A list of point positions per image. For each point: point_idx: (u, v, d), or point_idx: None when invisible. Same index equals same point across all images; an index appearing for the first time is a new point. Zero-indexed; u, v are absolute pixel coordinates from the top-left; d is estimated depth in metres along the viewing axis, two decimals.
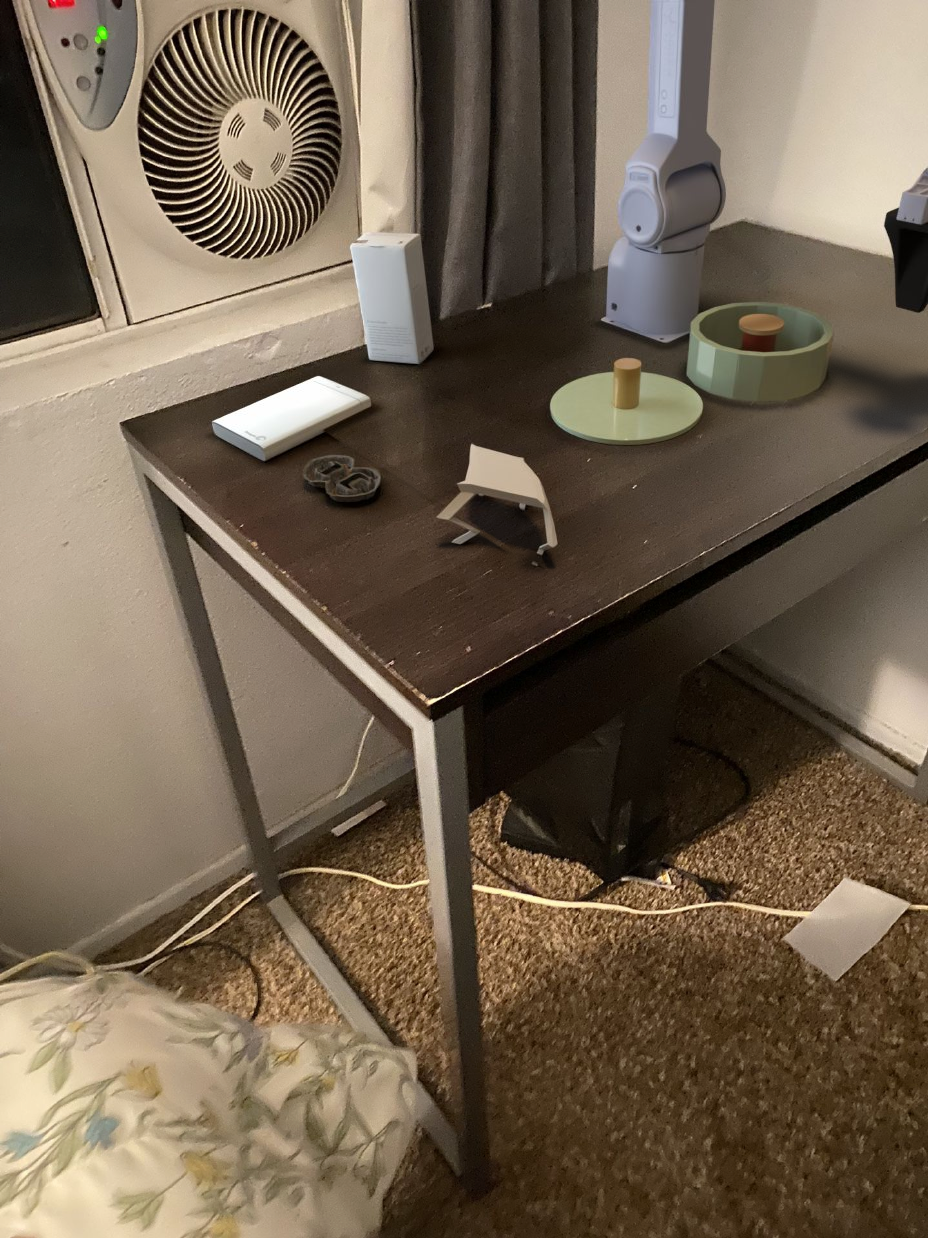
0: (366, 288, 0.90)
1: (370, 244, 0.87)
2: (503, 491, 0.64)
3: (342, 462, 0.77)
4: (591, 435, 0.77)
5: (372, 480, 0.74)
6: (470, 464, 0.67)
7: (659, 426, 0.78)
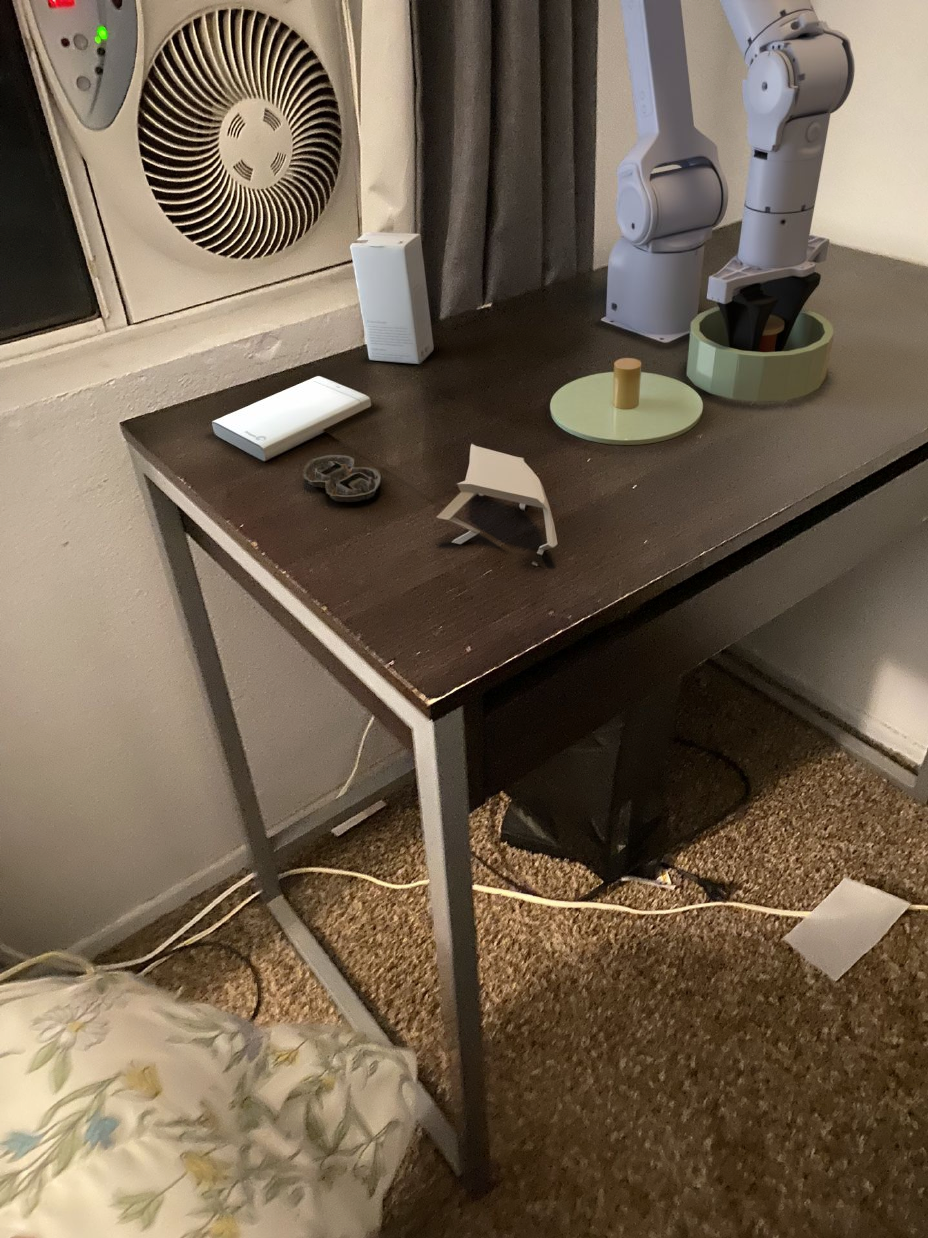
0: (366, 288, 0.90)
1: (370, 244, 0.87)
2: (503, 491, 0.64)
3: (342, 462, 0.77)
4: (591, 435, 0.77)
5: (372, 480, 0.74)
6: (470, 464, 0.67)
7: (659, 426, 0.78)
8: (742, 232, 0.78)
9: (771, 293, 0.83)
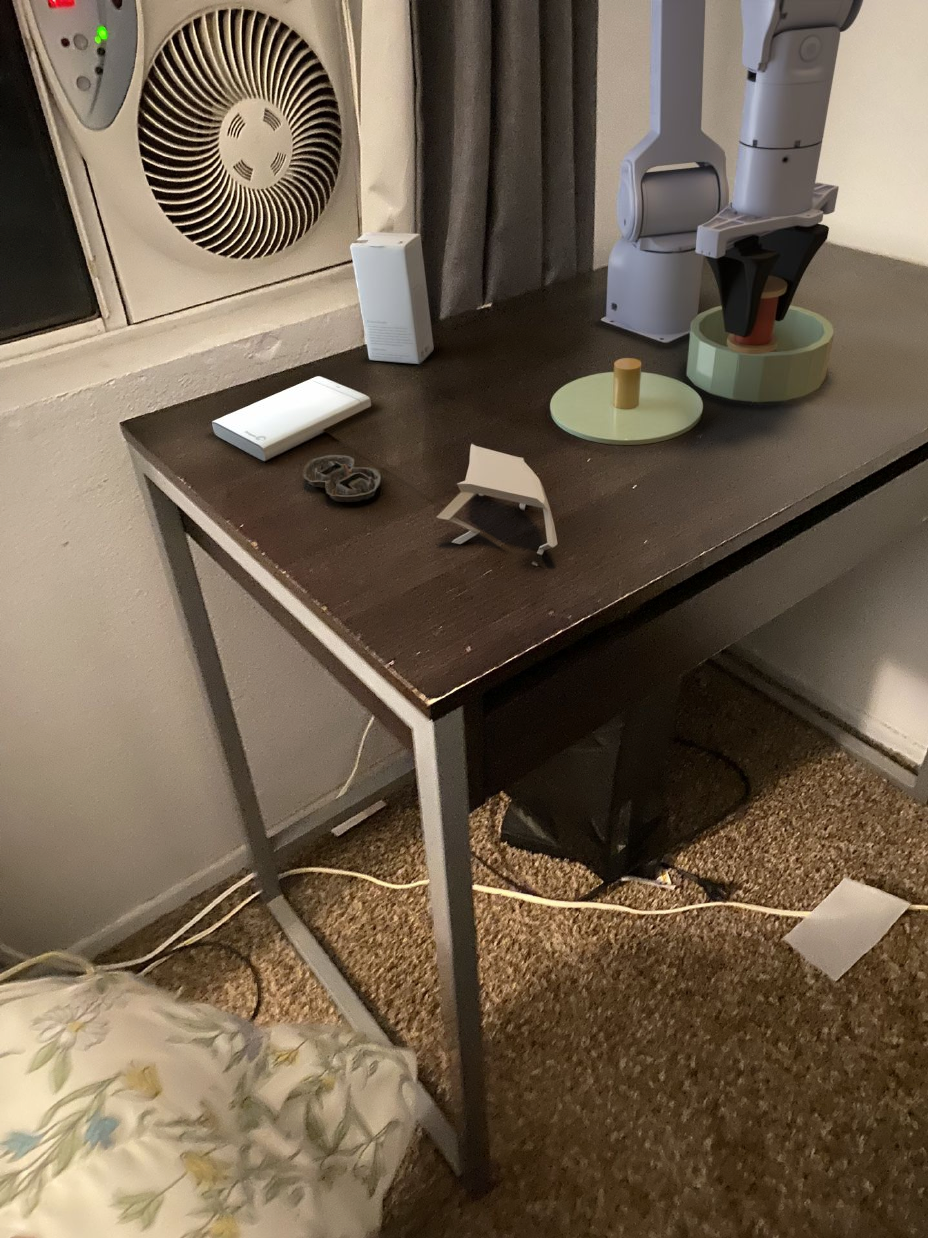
0: (366, 288, 0.90)
1: (370, 244, 0.87)
2: (503, 491, 0.64)
3: (342, 462, 0.77)
4: (591, 435, 0.77)
5: (372, 480, 0.74)
6: (470, 464, 0.67)
7: (659, 426, 0.78)
8: (737, 175, 0.66)
9: (771, 250, 0.72)
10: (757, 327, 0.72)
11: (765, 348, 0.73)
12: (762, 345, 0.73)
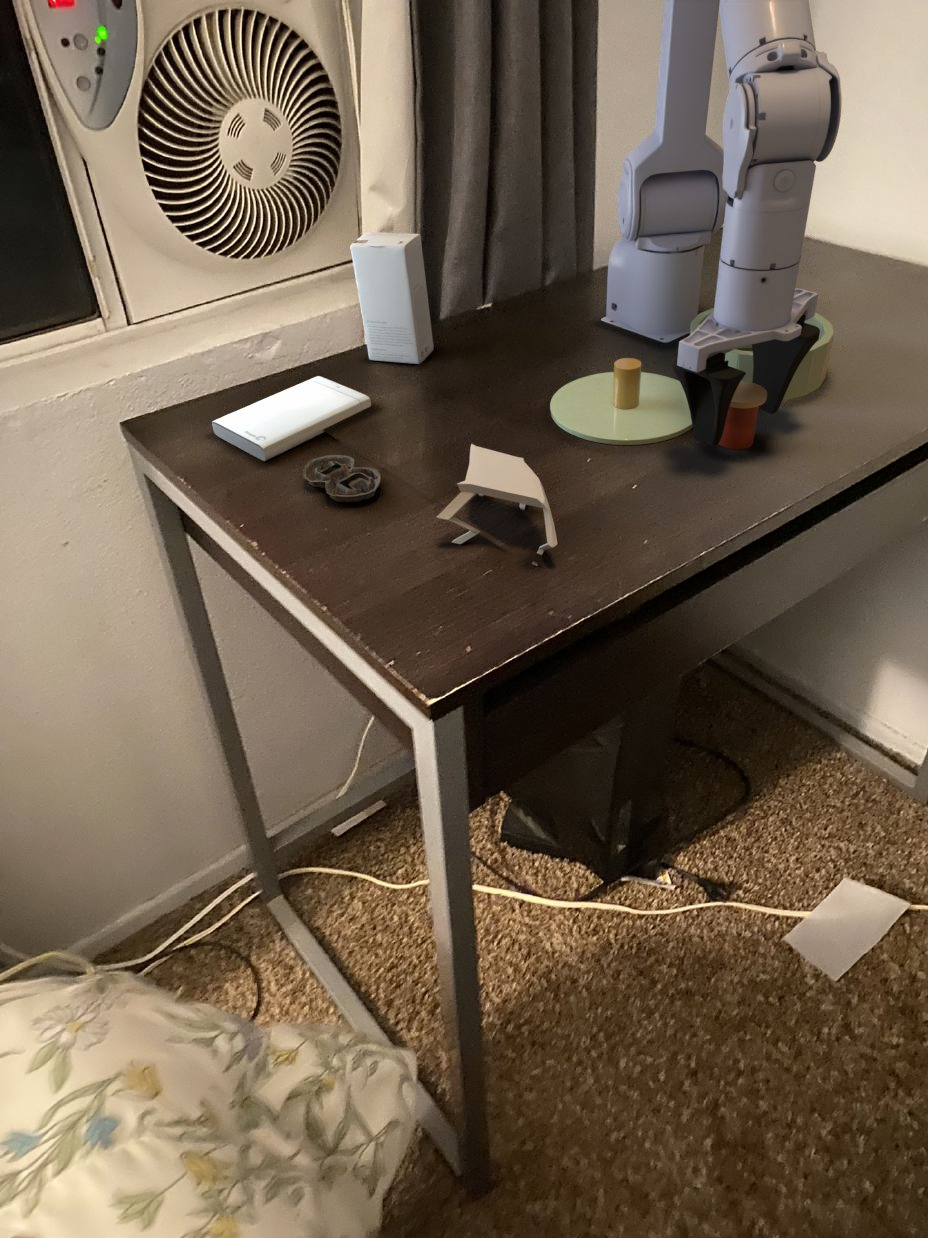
0: (366, 288, 0.90)
1: (370, 244, 0.87)
2: (503, 491, 0.64)
3: (342, 462, 0.77)
4: (591, 435, 0.77)
5: (372, 480, 0.74)
6: (470, 464, 0.67)
7: (659, 426, 0.78)
8: (718, 289, 0.68)
9: (764, 348, 0.74)
10: (738, 433, 0.74)
11: None
12: None
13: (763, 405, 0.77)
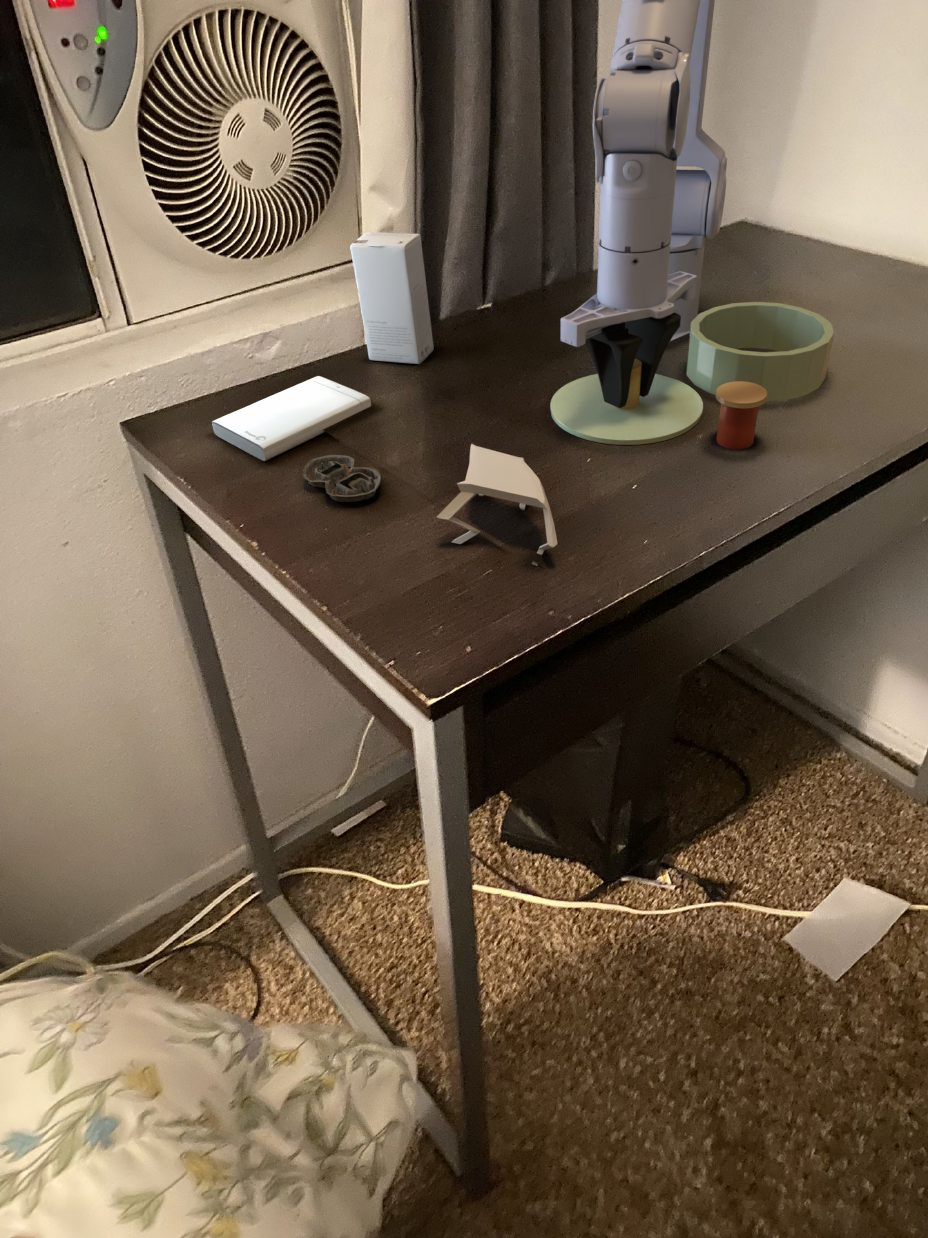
0: (366, 288, 0.90)
1: (370, 244, 0.87)
2: (503, 491, 0.64)
3: (342, 462, 0.77)
4: (591, 435, 0.77)
5: (372, 480, 0.74)
6: (470, 464, 0.67)
7: (659, 426, 0.78)
8: (598, 271, 0.74)
9: (633, 334, 0.79)
10: (738, 433, 0.74)
11: None
12: None
13: None
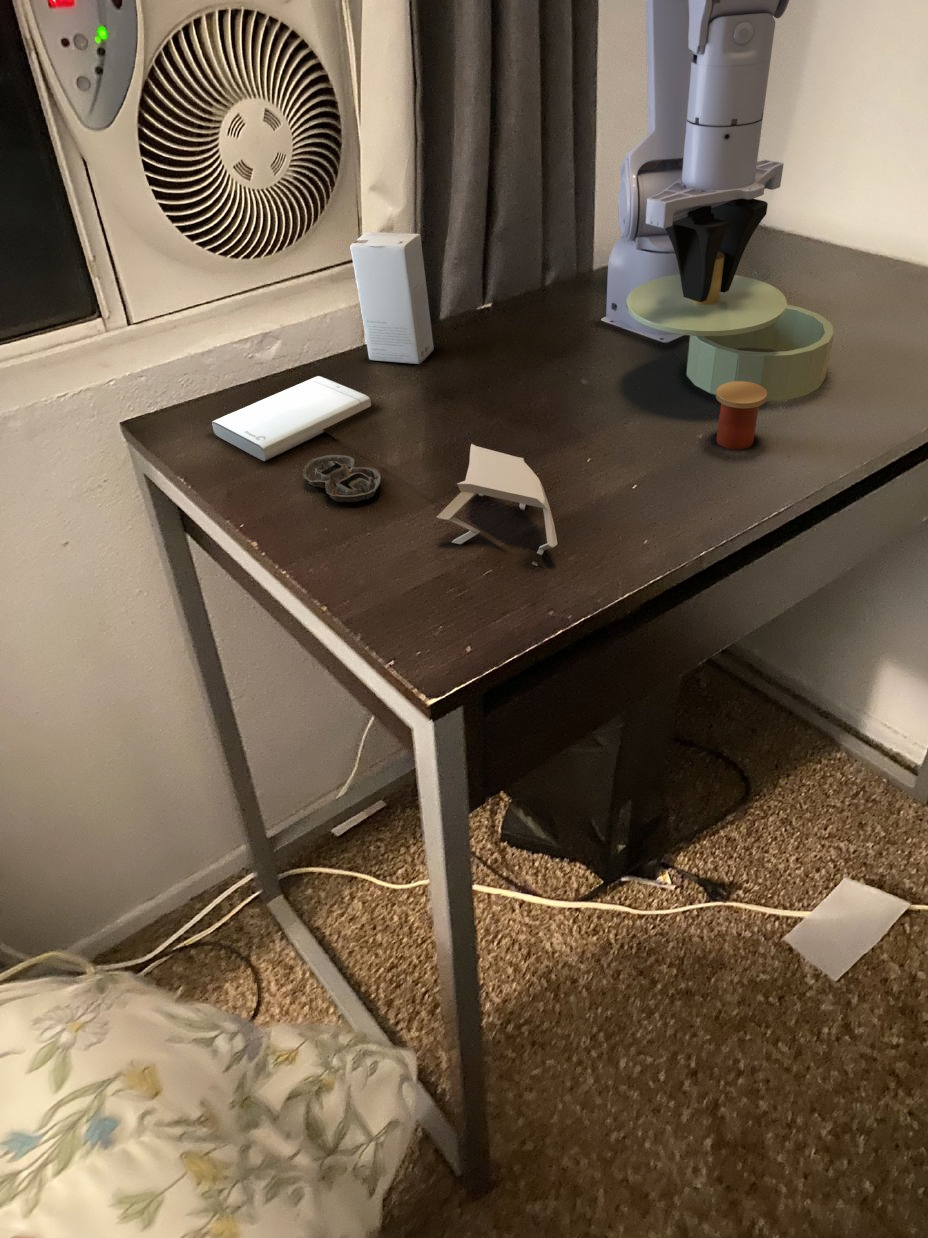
0: (366, 288, 0.90)
1: (370, 244, 0.87)
2: (503, 491, 0.64)
3: (342, 462, 0.77)
4: (673, 327, 0.75)
5: (372, 480, 0.74)
6: (470, 464, 0.67)
7: (744, 318, 0.75)
8: (685, 151, 0.71)
9: None
10: (738, 433, 0.74)
11: None
12: None
13: None
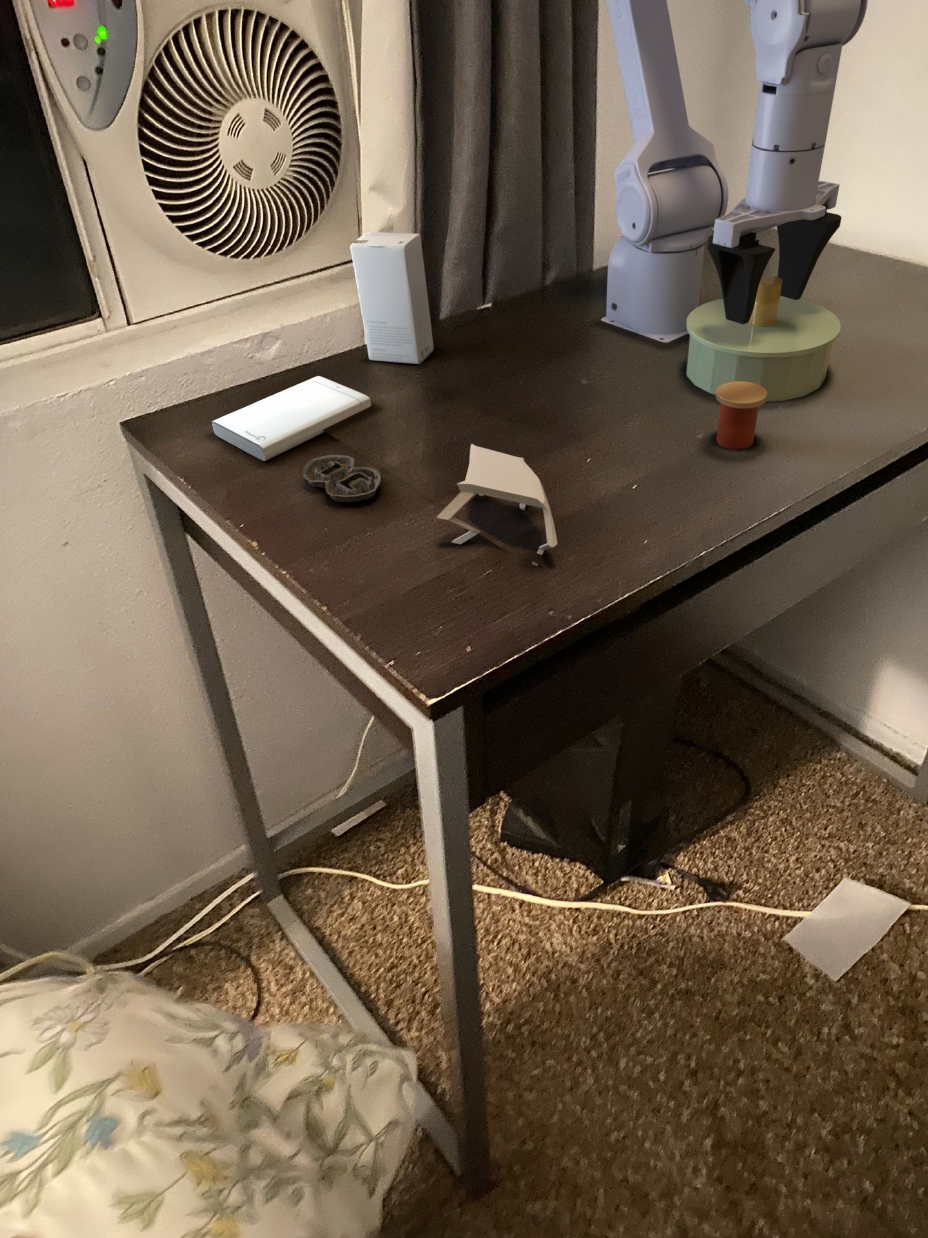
0: (366, 288, 0.90)
1: (370, 244, 0.87)
2: (503, 491, 0.64)
3: (342, 462, 0.77)
4: (736, 349, 0.79)
5: (372, 480, 0.74)
6: (470, 464, 0.67)
7: (802, 340, 0.79)
8: (749, 174, 0.75)
9: (790, 237, 0.81)
10: (738, 433, 0.74)
11: None
12: None
13: (788, 292, 0.83)
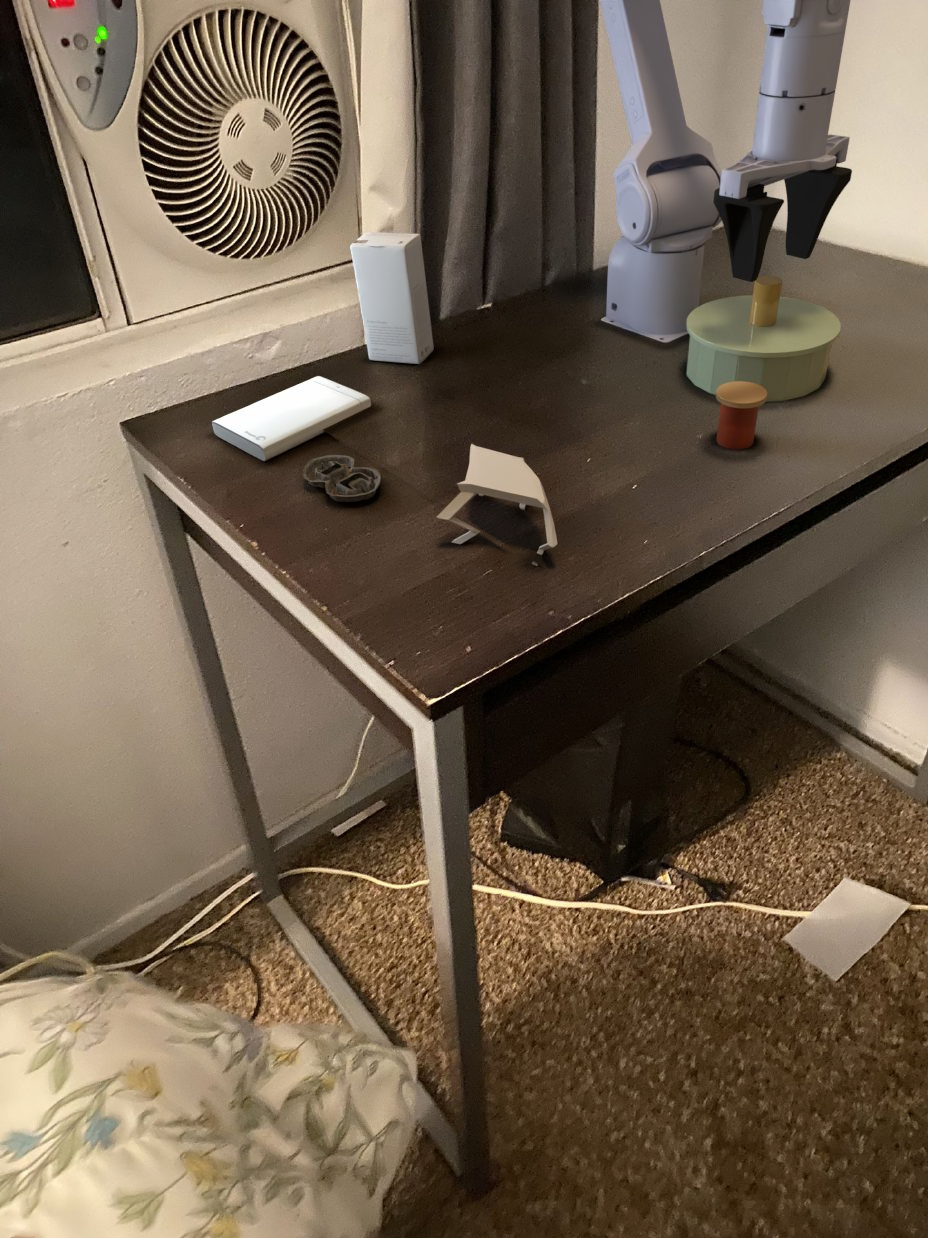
0: (366, 288, 0.90)
1: (370, 244, 0.87)
2: (503, 491, 0.64)
3: (342, 462, 0.77)
4: (736, 349, 0.79)
5: (372, 480, 0.74)
6: (470, 464, 0.67)
7: (802, 340, 0.79)
8: (757, 124, 0.72)
9: (798, 192, 0.79)
10: (738, 433, 0.74)
11: None
12: None
13: (797, 251, 0.81)
